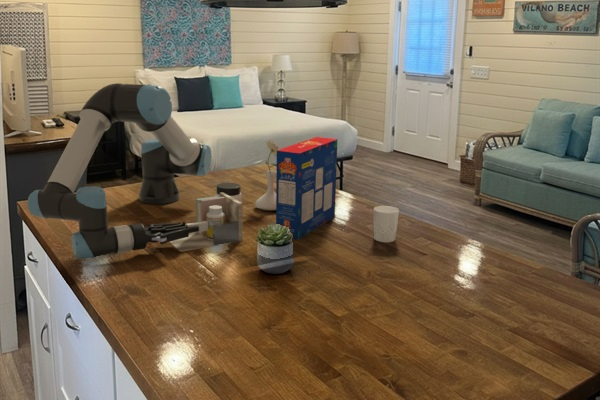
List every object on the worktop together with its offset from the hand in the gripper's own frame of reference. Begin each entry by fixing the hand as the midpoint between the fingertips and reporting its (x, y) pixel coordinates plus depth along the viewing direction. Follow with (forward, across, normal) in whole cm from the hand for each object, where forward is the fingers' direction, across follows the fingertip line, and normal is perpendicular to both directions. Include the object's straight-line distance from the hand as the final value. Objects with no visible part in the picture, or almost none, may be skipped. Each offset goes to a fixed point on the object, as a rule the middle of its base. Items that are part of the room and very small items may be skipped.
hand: (207, 225), depth 186 cm
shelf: (0, -2, -6) cm, 7 cm away
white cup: (+52, +22, -6) cm, 56 cm away
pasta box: (+37, -1, -6) cm, 37 cm away
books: (+4, -7, -5) cm, 9 cm away
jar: (+16, -20, -6) cm, 27 cm away
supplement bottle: (+3, -1, -5) cm, 6 cm away
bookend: (+4, +4, -5) cm, 8 cm away
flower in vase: (+35, -25, -6) cm, 44 cm away
